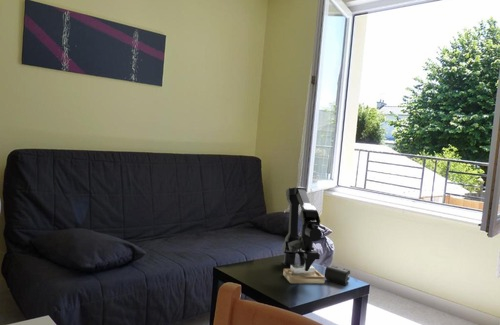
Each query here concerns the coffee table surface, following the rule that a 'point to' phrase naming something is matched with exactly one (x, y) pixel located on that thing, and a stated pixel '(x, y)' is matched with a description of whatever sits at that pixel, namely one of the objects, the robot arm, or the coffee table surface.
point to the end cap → (337, 275)
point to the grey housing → (301, 270)
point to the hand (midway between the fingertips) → (304, 268)
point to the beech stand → (304, 277)
